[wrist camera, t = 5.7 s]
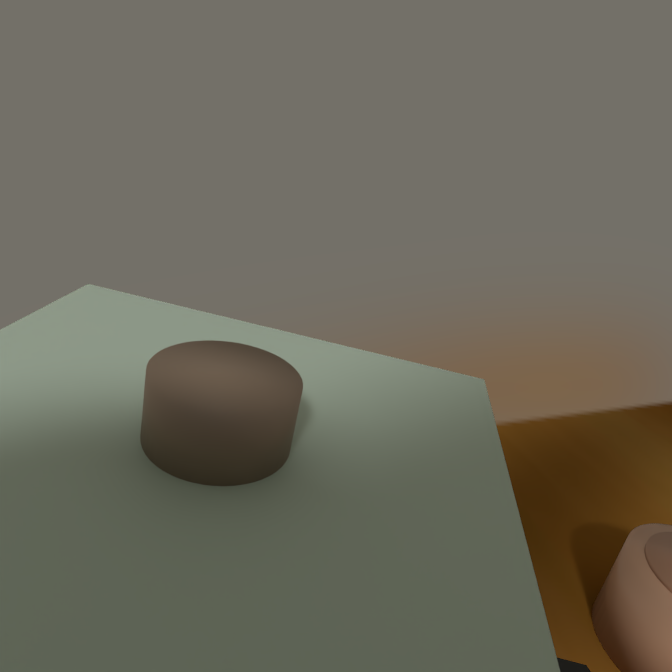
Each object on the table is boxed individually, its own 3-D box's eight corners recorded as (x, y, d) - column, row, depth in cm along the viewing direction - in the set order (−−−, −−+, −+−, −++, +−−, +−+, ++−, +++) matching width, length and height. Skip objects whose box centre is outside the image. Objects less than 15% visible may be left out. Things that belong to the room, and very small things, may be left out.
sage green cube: (386, 664, 18) (499, 334, 13) (356, 1279, 8) (694, 841, 4) (77, 581, 18) (90, 237, 14) (-283, 1078, 9) (-583, 491, 4)
